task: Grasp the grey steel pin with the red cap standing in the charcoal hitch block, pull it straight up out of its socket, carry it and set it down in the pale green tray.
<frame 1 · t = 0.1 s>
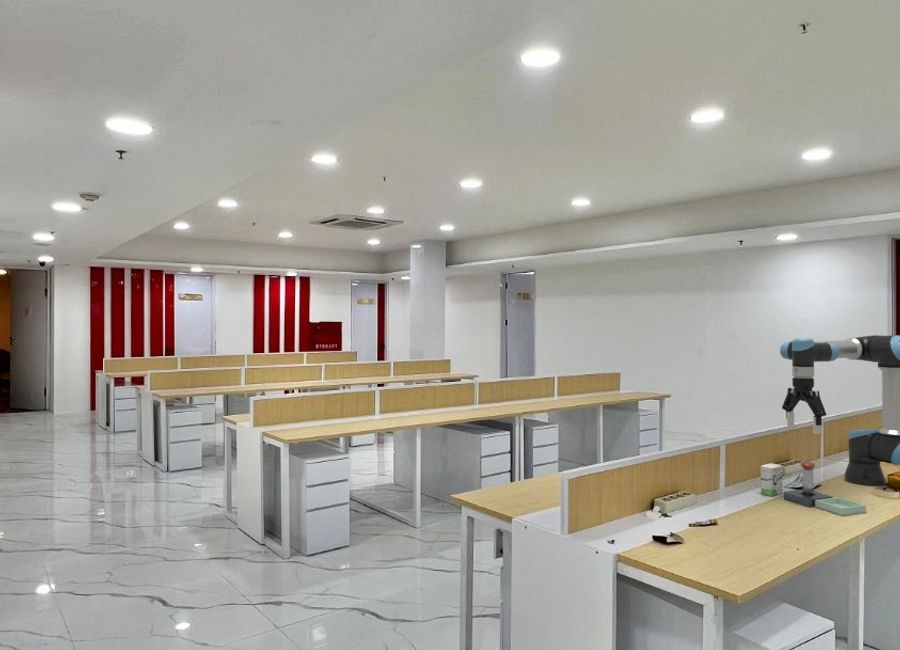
hand: (803, 430, 250), 28 cm above the table, fingers open, 13 cm apart
hitch block: (807, 501, 249), on the table
ink box: (771, 494, 261), on the table
pin: (807, 482, 249), in the hitch block
tray: (840, 510, 238), on the table
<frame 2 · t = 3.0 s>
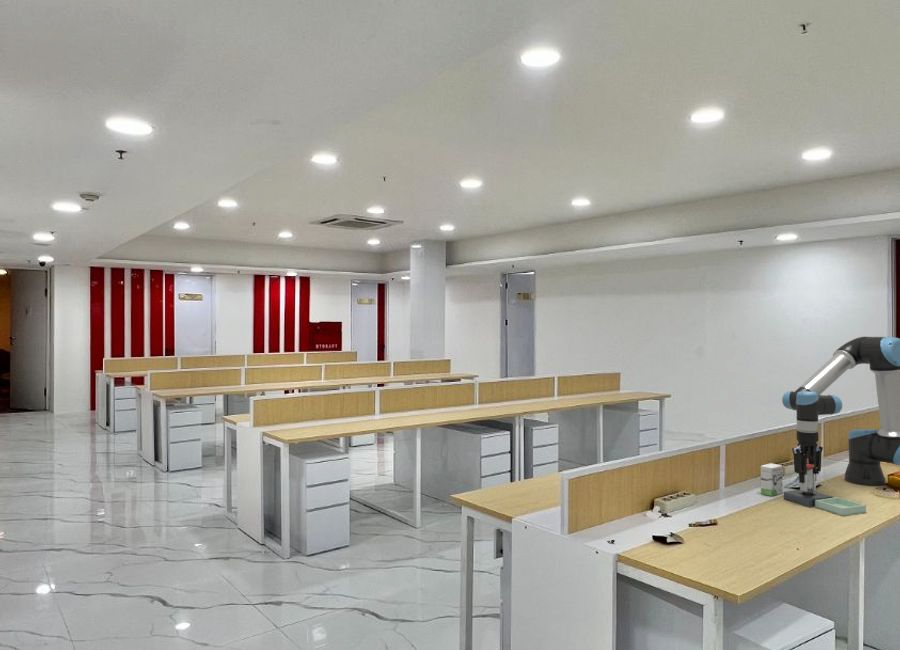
hand: (807, 490, 249), 5 cm above the table, fingers closed on pin, 3 cm apart
pin: (807, 482, 249), in the hitch block, touching gripper
everything else where it was.
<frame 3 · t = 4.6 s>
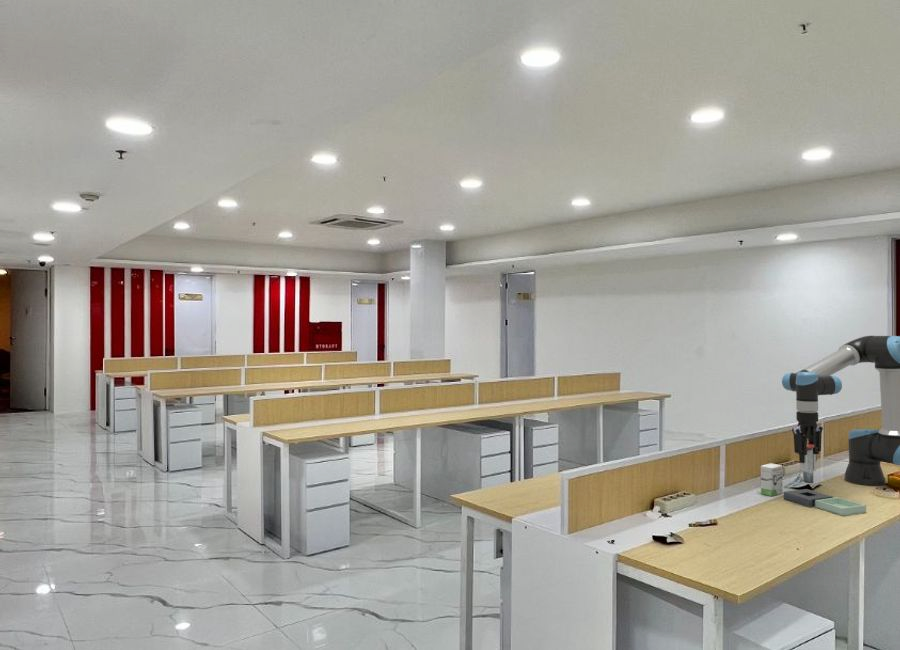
hand: (808, 470, 249), 12 cm above the table, fingers closed on pin, 3 cm apart
pin: (808, 462, 249), point 15 cm above the table, touching gripper
everything else where it was.
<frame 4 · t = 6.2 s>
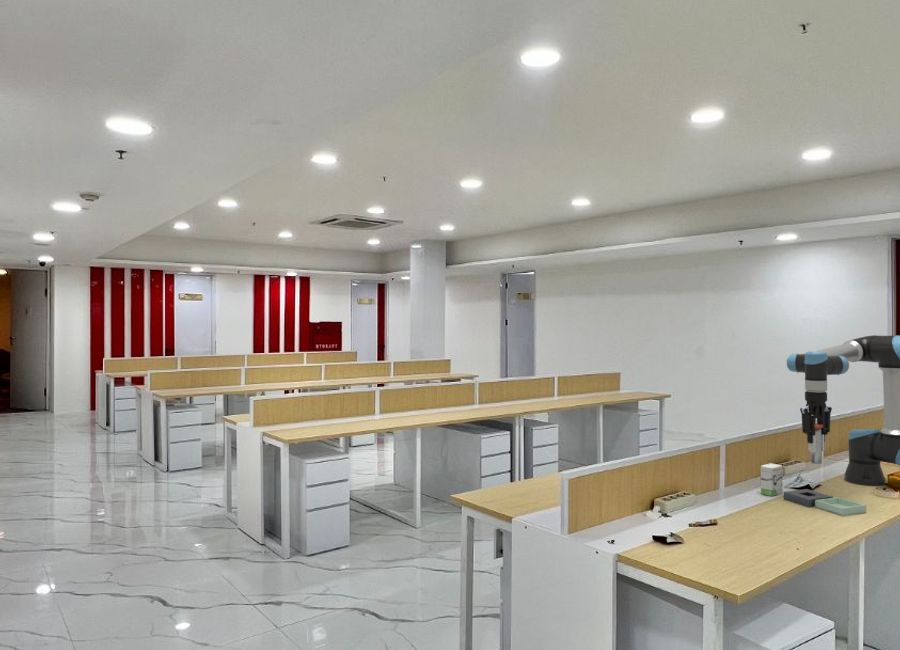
hand: (816, 451, 245), 21 cm above the table, fingers closed on pin, 3 cm apart
pin: (816, 443, 245), point 24 cm above the table, touching gripper
everything else where it was.
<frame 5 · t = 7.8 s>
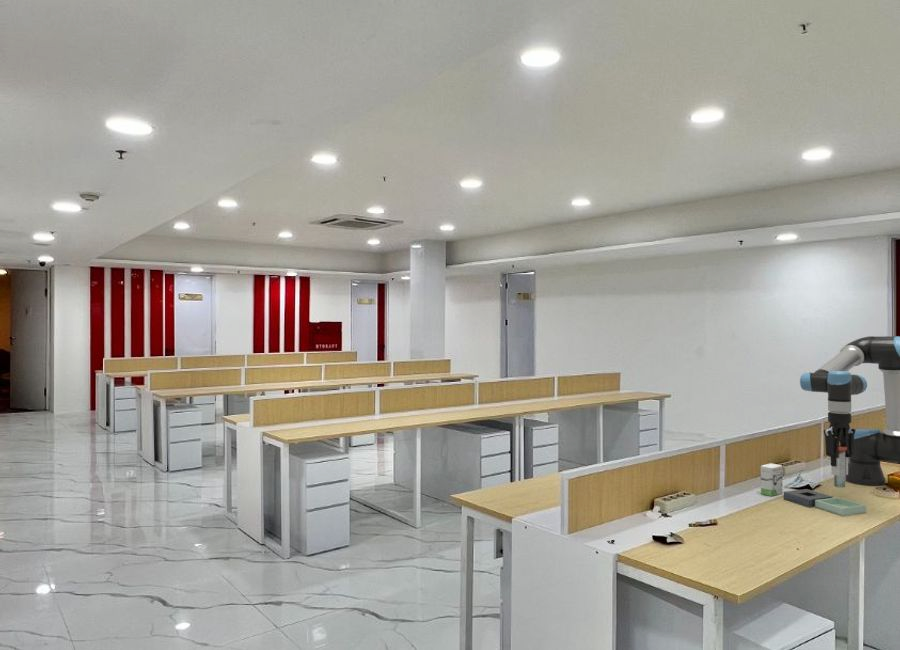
hand: (839, 474, 237), 14 cm above the table, fingers closed on pin, 3 cm apart
pin: (839, 466, 237), point 17 cm above the table, touching gripper
everything else where it was.
when the fingers open (7 cm above the table, at t = 9.4 s): pin drops 2 cm, resting on tray.
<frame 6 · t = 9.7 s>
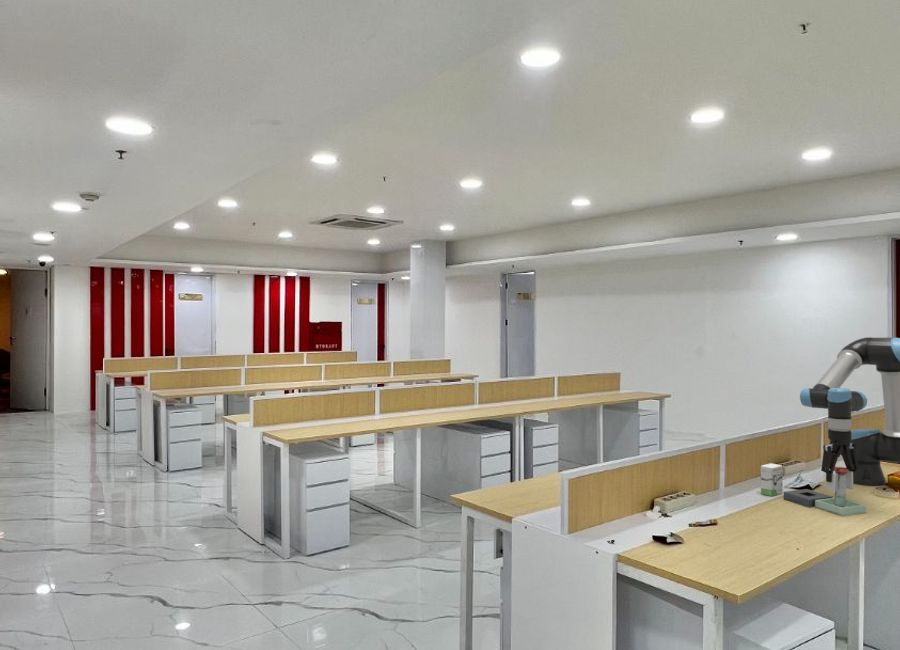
hand: (840, 489, 238), 8 cm above the table, fingers open, 8 cm apart
pin: (840, 488, 238), in the tray, point 8 cm above the table
everything else where it was.
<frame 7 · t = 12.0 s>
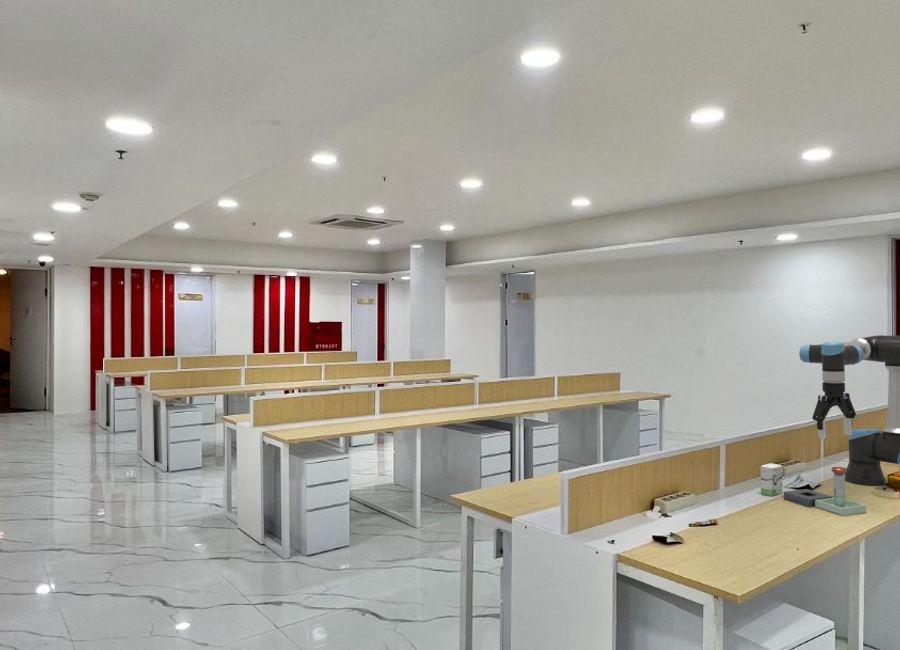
hand: (834, 436, 245), 26 cm above the table, fingers open, 13 cm apart
nothing on the table moved.
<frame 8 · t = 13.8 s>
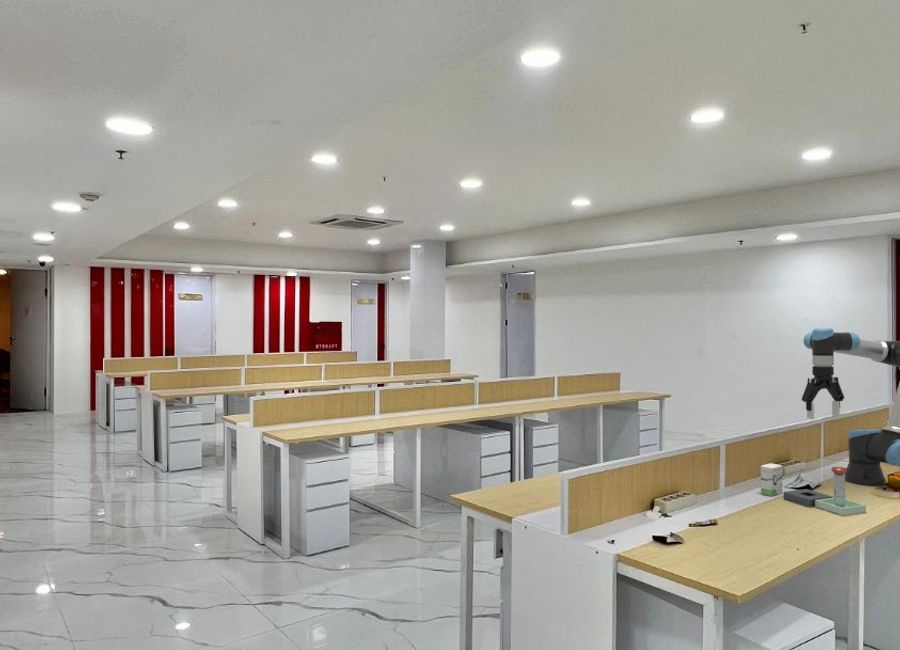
hand: (823, 417, 258), 32 cm above the table, fingers open, 13 cm apart
nothing on the table moved.
at the end: pin inside the target area on the tray (0.1 cm from its centre), point 8.2 cm above the tray's base; the gripper is holding nothing; pin touching tray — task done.
